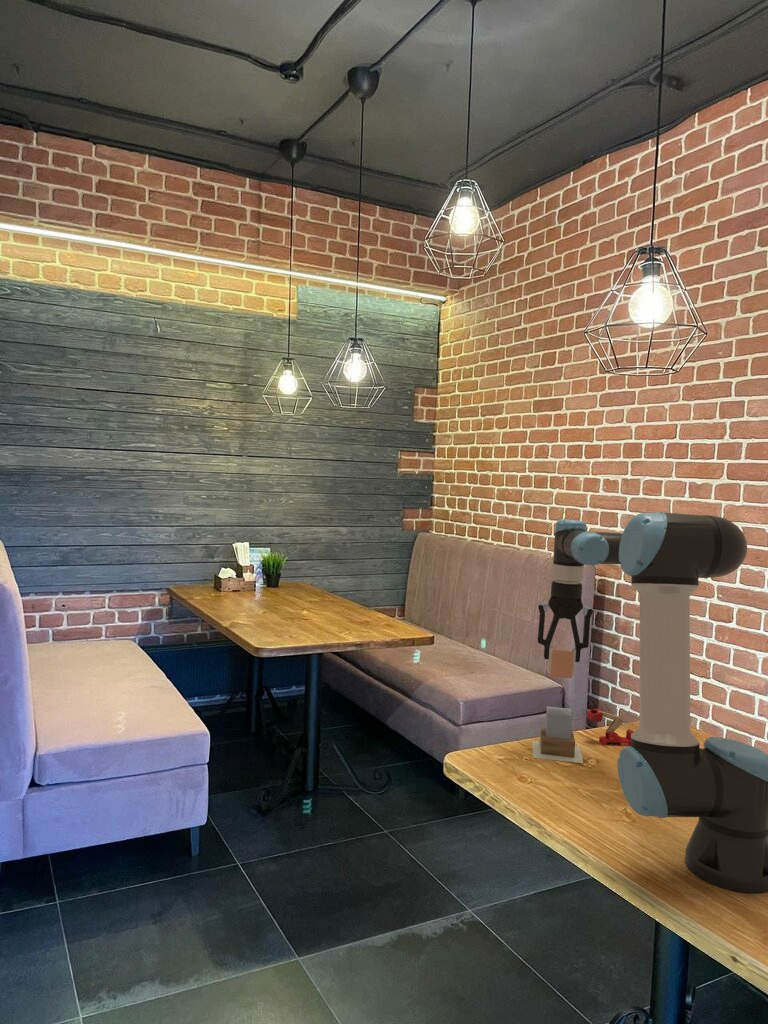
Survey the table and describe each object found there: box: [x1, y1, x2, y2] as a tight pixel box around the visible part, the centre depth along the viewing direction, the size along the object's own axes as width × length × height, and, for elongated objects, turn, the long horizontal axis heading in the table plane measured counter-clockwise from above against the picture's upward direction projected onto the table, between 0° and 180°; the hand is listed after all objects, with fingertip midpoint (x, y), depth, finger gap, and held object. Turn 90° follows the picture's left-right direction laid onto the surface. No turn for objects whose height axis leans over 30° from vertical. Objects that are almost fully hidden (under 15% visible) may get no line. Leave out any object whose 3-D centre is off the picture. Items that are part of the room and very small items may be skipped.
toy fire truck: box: [586, 708, 635, 747], centre depth 199 cm, size 3×14×10 cm, turn 94°
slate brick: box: [544, 705, 573, 740], centre depth 191 cm, size 6×6×6 cm
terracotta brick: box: [550, 647, 573, 679], centre depth 190 cm, size 5×5×6 cm
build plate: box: [531, 740, 584, 764], centre depth 191 cm, size 12×12×1 cm
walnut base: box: [539, 727, 576, 758], centre depth 191 cm, size 8×8×4 cm
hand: (560, 673), depth 190 cm, fingers closed on terracotta brick, 5 cm apart
